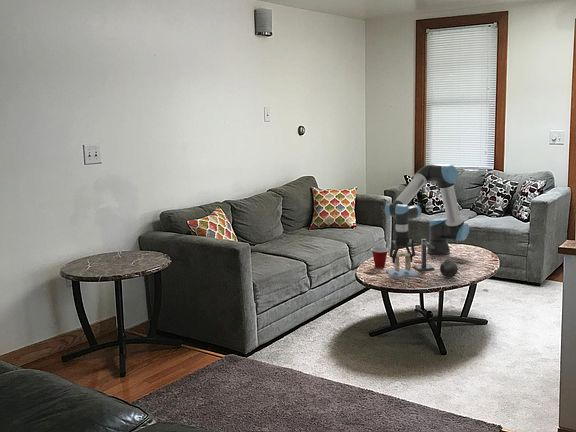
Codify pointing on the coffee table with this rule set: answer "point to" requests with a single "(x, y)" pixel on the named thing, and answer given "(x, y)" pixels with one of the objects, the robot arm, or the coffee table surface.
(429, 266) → the stand
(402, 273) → the mat
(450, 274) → the decorative stone
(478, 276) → the coffee table surface
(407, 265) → the wooden u-bracket
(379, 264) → the plastic cup
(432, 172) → the robot arm
